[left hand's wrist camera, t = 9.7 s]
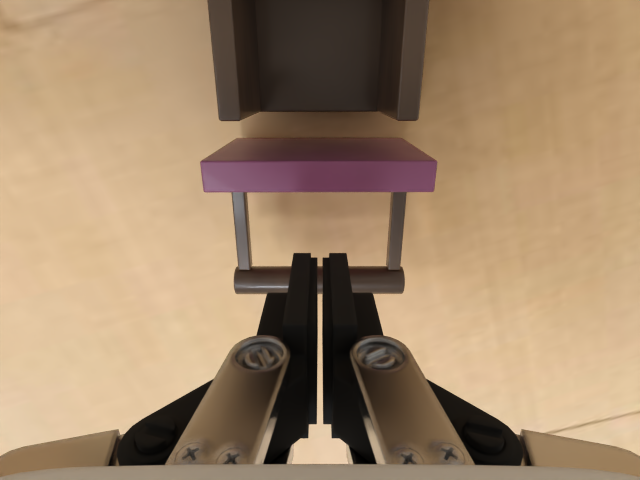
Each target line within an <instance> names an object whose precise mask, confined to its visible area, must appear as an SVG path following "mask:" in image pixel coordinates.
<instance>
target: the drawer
mask: <svg viewBox="0 0 640 480" xmlns="http://www.w3.org/2000/svg"><path fill="white" fill-rule="evenodd" d="M428 9H429V0H208V11H209V21H210V31H211V42H212V52H213V63H214V73H215V84H216V94H217V104H218V115H219V120H220V121H240V120H242V119H244V118H247V117H249V116H251V115H253V114H256V113H258V112H380V113H383V114H385V115H387V116H389V117H391V118H394V119H396V120H398V121H416V120H418V118H419V108H420V97H421V86H422V75H423V64H424V53H425V42H426V31H427V20H428ZM200 164H201V173H202V181H203V190H204V192H232V202H233V213H234V224H235V235H236V246H237V257H238V267H236V269H235V273H234V289H235V293H236V294H267V293H268V292H288V286H289V280H290V273H291V267H292V266H252V254H251V241H250V228H249V214H248V201H247V192H391V203H390V217H389V231H388V246H387V260H386V265H387V266H348V267H349V273H350V280H351V286H352V292H372V293H373V294H402V293H403V291H404V286H405V277H404V271H403V268H402V267H401V266H400V263H401V251H402V240H403V228H404V216H405V205H406V193H407V192H433V191H434V187H435V178H436V169H437V161H436V160H435V159H433V158H432V157H430V156H428V155H427V154H425V153H424V152H422V151H421V150H419V149H418V148H416V147H415V146H413V145H412V144H410V143H408V142H407V141H405V140H404V139H402V138H236V139H235V140H233V141H232V142H230V143H229V144H227V145H225V146H224V147H222V148H221V149H219V150H218V151H216V152H214V153H213V154H211V155H210V156H208V157H207V158H205V159H203V160H202V161H201V162H200ZM317 294H323V266H317Z"/></svg>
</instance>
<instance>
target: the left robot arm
mask: <svg viewBox="0 0 640 480" xmlns="http://www.w3.org/2000/svg"><path fill="white" fill-rule="evenodd" d="M317 336H318V327H317V258H311V253H294V254H293V261H292V267H291V273H290V280H289V286H288V292H268V293H267V296H266V300H265V304H264V308H263V312H262V316H261V320H260V324H259V328H258V332H257V336H253V337H249V338H246V339H244V340H242V341H240V342H239V343H237V344H236V345H235V346H234V347H233V348H232V349H231V350H230V352H229V354H228V355H227V357H226V359H225V361H224V362H223V364H222V366H221V368H220V369H219V371H218V373H217V375H216V376H215V378H214V379H213V380H211V381H209V382H207V383H206V384H204V385H202V386H200V387H199V388H197V389H195V390H193V391H191V392H190V393H188V394H186V395H184V396H183V397H181V398H179V399H177V400H176V401H174V402H172V403H170V404H168V405H167V406H165V407H163V408H161V409H160V410H158V411H156V412H154V413H152V414H151V415H149V416H147V417H145V418H144V419H142V420H141V421H139V422H138V423H136V424H135V425H133V426H132V427H131V428H130V429H129V430H128V431H127V432H126V433H125V434H123V435H120V433H119V429H117V430H111V431H106V432H101V433H95V434H90V435H84V436H79V437H73V438H68V439H63V440H57V441H52V442H46V443H41V444H36V445H30V446H25V447H21V448H18V449H15V450H11V451H9V452H7V453H5V454H3V455H1V456H0V480H640V456H639V455H637V454H635V453H633V452H631V451H629V450H625V449H622V448H619V447H615V446H610V445H604V444H599V443H594V442H588V441H583V440H577V439H572V438H567V437H561V436H556V435H550V434H545V433H539V432H534V431H529V430H523V429H521V433H520V435H517V434H515V433H514V432H513V431H512V430H511V429H510V428H509V427H508V426H507V425H505V424H504V423H502V422H501V421H499V420H498V419H496V418H495V417H493V416H491V415H489V414H488V413H486V412H484V411H482V410H480V409H479V408H477V407H475V406H473V405H472V404H470V403H468V402H466V401H464V400H463V399H461V398H459V397H457V396H456V395H454V394H452V393H450V392H449V391H447V390H445V389H443V388H441V387H440V386H438V385H436V384H434V383H433V382H431V381H429V380H427V379H426V378H425V376H424V375H423V373H422V371H421V369H420V368H419V366H418V364H417V362H416V361H415V359H414V357H413V355H412V354H411V352H410V350H409V349H408V348H407V347H406V346H405V345H404V344H403V343H401V342H400V341H398V340H396V339H394V338H391V337H387V336H383V332H382V328H381V324H380V320H379V316H378V312H377V308H376V304H375V300H374V296H373V293H372V292H352V286H351V280H350V273H349V267H348V261H347V254H346V253H329V258H323V326H322V337H323V424H331V429H332V438H340V439H341V440H343V441H344V442H345V443H346V452H347V460H348V464H292V460H293V452H294V443H295V442H296V441H297V440H299V439H300V438H308V429H309V424H317Z"/></svg>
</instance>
